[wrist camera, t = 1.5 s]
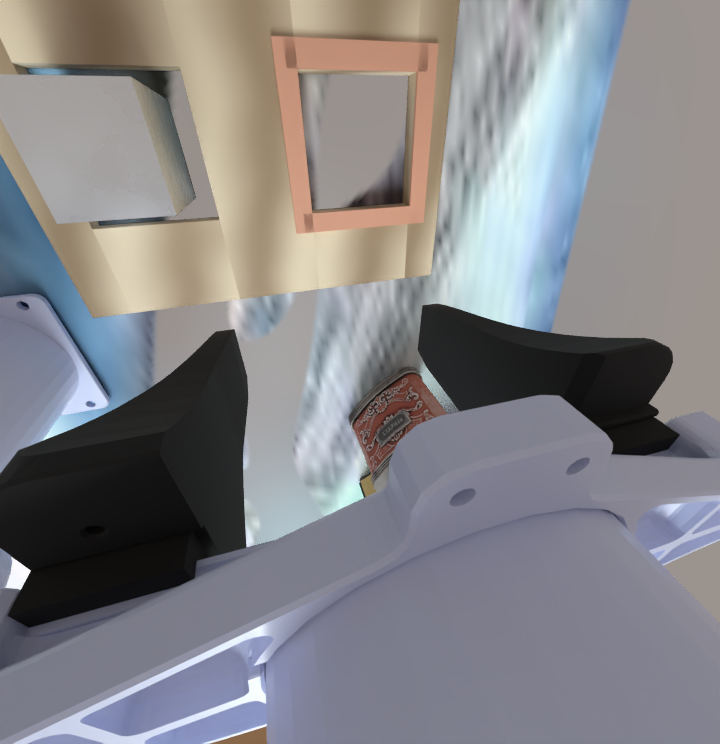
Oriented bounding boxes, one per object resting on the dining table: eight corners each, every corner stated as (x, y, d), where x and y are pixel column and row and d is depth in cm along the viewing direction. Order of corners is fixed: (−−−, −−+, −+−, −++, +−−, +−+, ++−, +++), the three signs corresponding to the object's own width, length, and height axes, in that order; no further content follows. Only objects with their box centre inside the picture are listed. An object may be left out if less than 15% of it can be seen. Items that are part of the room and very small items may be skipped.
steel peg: (112, 202, 16) (57, 223, 11) (68, 99, 14) (-24, 73, 9) (196, 197, 17) (176, 215, 12) (168, 100, 15) (130, 76, 10)
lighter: (404, 359, 27) (468, 442, 20) (425, 377, 29) (490, 461, 21) (340, 418, 29) (375, 517, 21) (364, 432, 31) (403, 527, 23)
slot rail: (99, 310, 19) (91, 319, 18) (-140, -130, 10) (-181, -159, 9) (424, 270, 23) (431, 275, 22) (455, -57, 14) (469, -72, 14)
